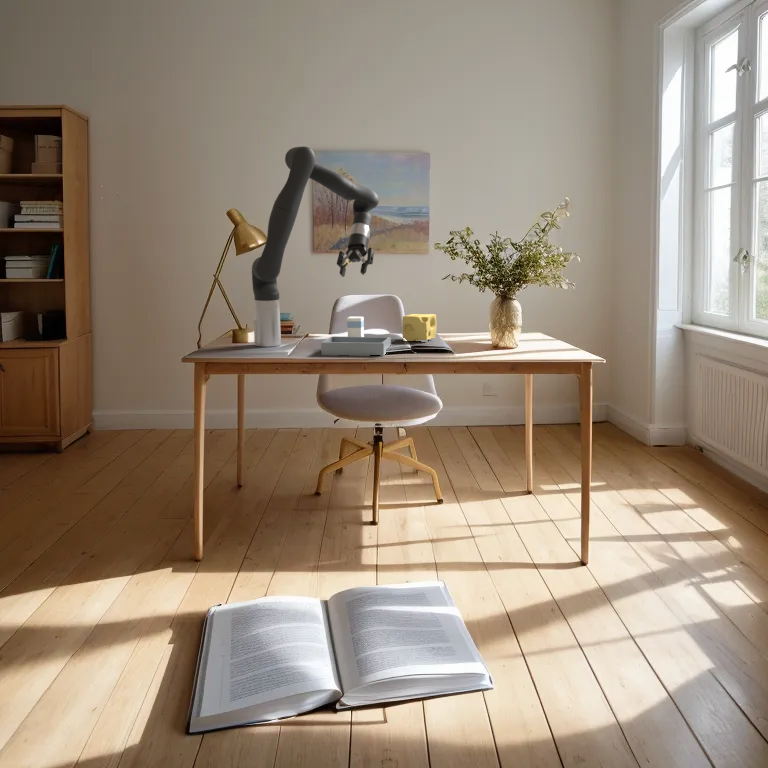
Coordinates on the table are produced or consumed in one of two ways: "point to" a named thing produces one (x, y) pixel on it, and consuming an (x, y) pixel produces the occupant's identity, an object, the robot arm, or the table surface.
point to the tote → (355, 346)
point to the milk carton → (355, 326)
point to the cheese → (419, 327)
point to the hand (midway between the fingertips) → (352, 274)
